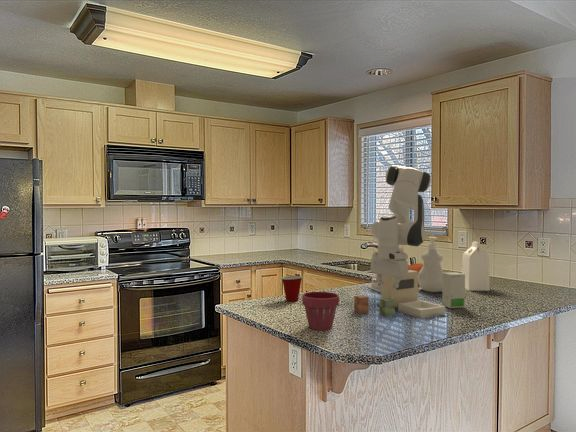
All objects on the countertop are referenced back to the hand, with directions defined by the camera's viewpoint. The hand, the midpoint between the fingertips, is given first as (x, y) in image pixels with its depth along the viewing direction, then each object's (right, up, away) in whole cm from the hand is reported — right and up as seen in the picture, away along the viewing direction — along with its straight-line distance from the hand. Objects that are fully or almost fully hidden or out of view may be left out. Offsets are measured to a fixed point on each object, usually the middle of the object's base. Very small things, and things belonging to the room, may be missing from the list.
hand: (388, 285), depth 198 cm
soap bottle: (+35, -11, +53) cm, 64 cm away
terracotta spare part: (-11, -13, +7) cm, 18 cm away
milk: (+62, -11, +60) cm, 87 cm away
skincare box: (+34, -12, +17) cm, 40 cm away
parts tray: (+15, -13, +5) cm, 21 cm away
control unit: (+9, -12, +17) cm, 23 cm away
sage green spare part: (0, -13, +1) cm, 13 cm away
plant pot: (-30, -14, -18) cm, 38 cm away
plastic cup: (-41, -12, +30) cm, 52 cm away
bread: (+32, -10, +79) cm, 86 cm away
